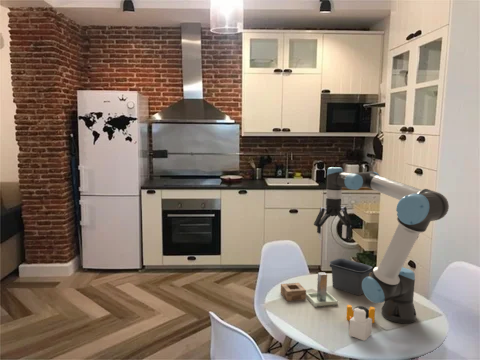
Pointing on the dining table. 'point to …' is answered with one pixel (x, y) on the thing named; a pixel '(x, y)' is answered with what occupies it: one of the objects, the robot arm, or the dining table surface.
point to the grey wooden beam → (321, 286)
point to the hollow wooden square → (293, 291)
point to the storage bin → (349, 275)
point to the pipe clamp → (351, 313)
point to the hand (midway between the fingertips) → (332, 238)
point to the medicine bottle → (360, 323)
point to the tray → (329, 301)
